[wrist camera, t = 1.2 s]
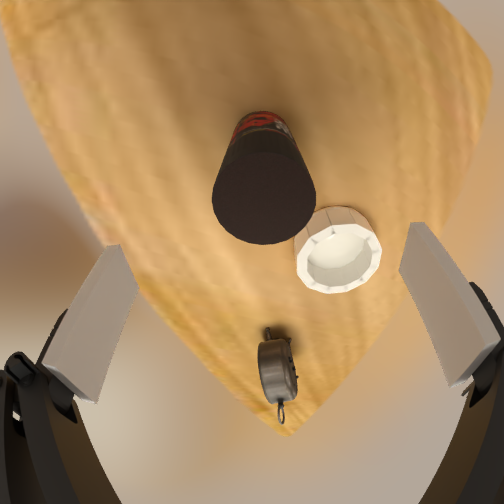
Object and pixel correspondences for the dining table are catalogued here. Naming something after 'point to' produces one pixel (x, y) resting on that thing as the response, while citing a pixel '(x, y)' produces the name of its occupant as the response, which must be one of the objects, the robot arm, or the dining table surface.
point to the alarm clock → (277, 372)
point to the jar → (336, 250)
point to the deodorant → (263, 183)
